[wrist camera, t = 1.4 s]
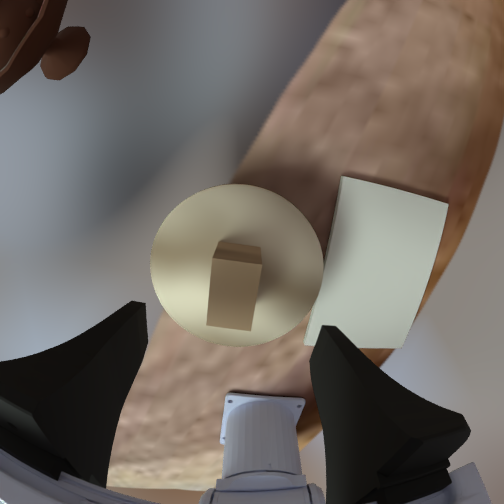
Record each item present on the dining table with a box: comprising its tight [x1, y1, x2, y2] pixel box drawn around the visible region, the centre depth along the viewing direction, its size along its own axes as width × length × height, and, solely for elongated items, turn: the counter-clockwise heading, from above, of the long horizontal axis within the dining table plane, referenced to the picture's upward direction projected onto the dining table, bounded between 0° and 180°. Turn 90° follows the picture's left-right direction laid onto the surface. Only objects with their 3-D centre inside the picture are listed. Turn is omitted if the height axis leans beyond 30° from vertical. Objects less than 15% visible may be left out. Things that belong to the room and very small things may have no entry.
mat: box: [303, 176, 449, 348], centre depth 22 cm, size 14×10×1 cm
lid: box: [150, 184, 324, 347], centre depth 17 cm, size 11×11×4 cm
